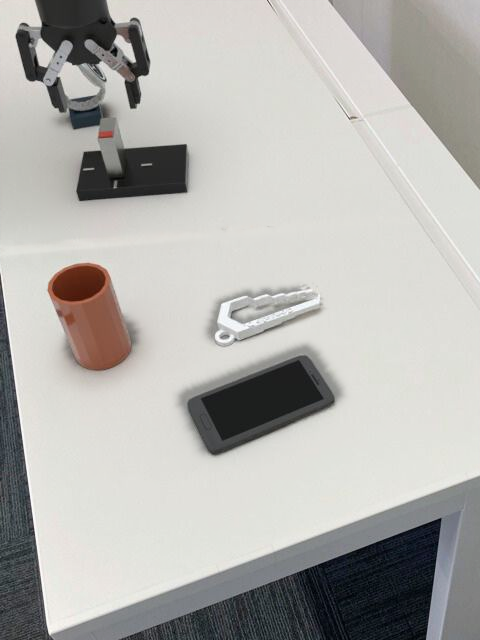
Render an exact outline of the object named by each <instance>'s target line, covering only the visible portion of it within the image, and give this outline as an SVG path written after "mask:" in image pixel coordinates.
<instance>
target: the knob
mask: <svg viewBox="0 0 480 640" xmlns="http://www.w3.org/2000/svg"><path fill="white" fill-rule="evenodd" d="M97 133H98V134H97V142H98V145H99V150H101V153H102V156H103V160H104V163H105V167H106V170H107V173H108V177H109V178H121V177H124V175H125V165H126V153H125V149H126V148H125V146H124V145H125V144H124V141H123V138H122V133H121V131H120V127H119V123H118V119H117V117H103V118H101V120H100V125H99V127H98V132H97Z"/></svg>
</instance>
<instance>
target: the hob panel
mask: <svg viewBox="0 0 480 640" xmlns="http://www.w3.org/2000/svg"><path fill="white" fill-rule="evenodd" d="M124 149H125V153H126V165H125V175H124V177H121V178H109V177H108V173H107V170H106V167H105V163H104V160H103V156H102V153H101V149H99V150H88V151H83V152H82V158H81V164H80V167H79V169H80V170H79V174H78V180H77V185H76V190H75V192H76V195H77V198H78V201H79V202H88V201H98V200H112V199H113V200H114V199H122V198H123V199H124V198H125V199H126V198H137V197H148V196H149V197H150V196H163V195H175V194H188V192H189V191H188V190H189V189H188V188H189V187H188V185H189V158H190V157H189V156H190V155H189V149H188V144H187V143H180V144H168V145H154V146H141V147H129V148H128V147H127V148H124Z"/></svg>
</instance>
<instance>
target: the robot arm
mask: <svg viewBox="0 0 480 640" xmlns="http://www.w3.org/2000/svg"><path fill="white" fill-rule="evenodd" d="M34 2H35V6H36V10H37V12H38V13H37V14H38V16H39V20H40V22H41V23H40V24H41V26H30V25H29V23H26V22H20V24H19V25H18V27H17V29H16V32H15V35H14V37H15V41H16V44H17V48H18V53H19V57H20V60H21V64H22V68H23V71H24V76H25V79H26V81H29V82H31V83H32V82H36V81H37V82H40V83H43V84H44V85H45V87H46V90H47V93H48V96H49V99H50V103H51V105H52V107H53V108H54V109H57V110H58V113H60V114H63V113H67V111H68V109H67V107H68V103H67V99H66V96H67V95H66V94H65V89H64V86H63V83H62V79H61V77H60V76H59V74H60V72H61V70H62V69H63V66H64V65H65V63H69V64H71V66H76V65H81V64H84V63H88V64H97V65H100V64H101V62H103V63H104V64H105V65H106V66H107V67H108V68H110V70H112V71H116V73H118V74H119V75H120V77H122V78H123V79H124V87H125V93H126V96H127V101H128V104H129V108H130V110H135V109H137V107H138V105H139V104H141V99H142V90H141V85H140V81H139V80H140V79H139V78H140V77H147V76H149V74H150V69H151V58H150V55H149V51H148V46H147V43H146V39H145V35H144V33H143V32H144V31H143V28H142V24H141V20H140V19H139V18H137V17H131V18H130V20H129V21H128V22H119V23H116V22H115V21H114V19H113V18H112V15H111V14H110V10H109V5H108V0H34ZM118 36H121V37H122V38H123V40H124V42H126V43H127V44H131V45H130V46H131V48H132V52H133V57H134V59H135V62H133V61H132V60H131V59H130V58H129V56H128V57H127V55H126V54H125V53H124V51H123V49H121V47H120V46H118V45H117V44H116V43H115V41H116V39H117V37H118ZM40 39H42V41H43V43H45V44H46V45H47V46H48V47H49V48H50V49H51V50H53V53H52V55H51V58H50V60H49V62H48V64H47V66H42V65H40V62H39V57H38V54H37V50H36V47H37V46H38V43H39V40H40ZM65 61H67V62H65ZM65 95H66V96H65Z"/></svg>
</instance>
